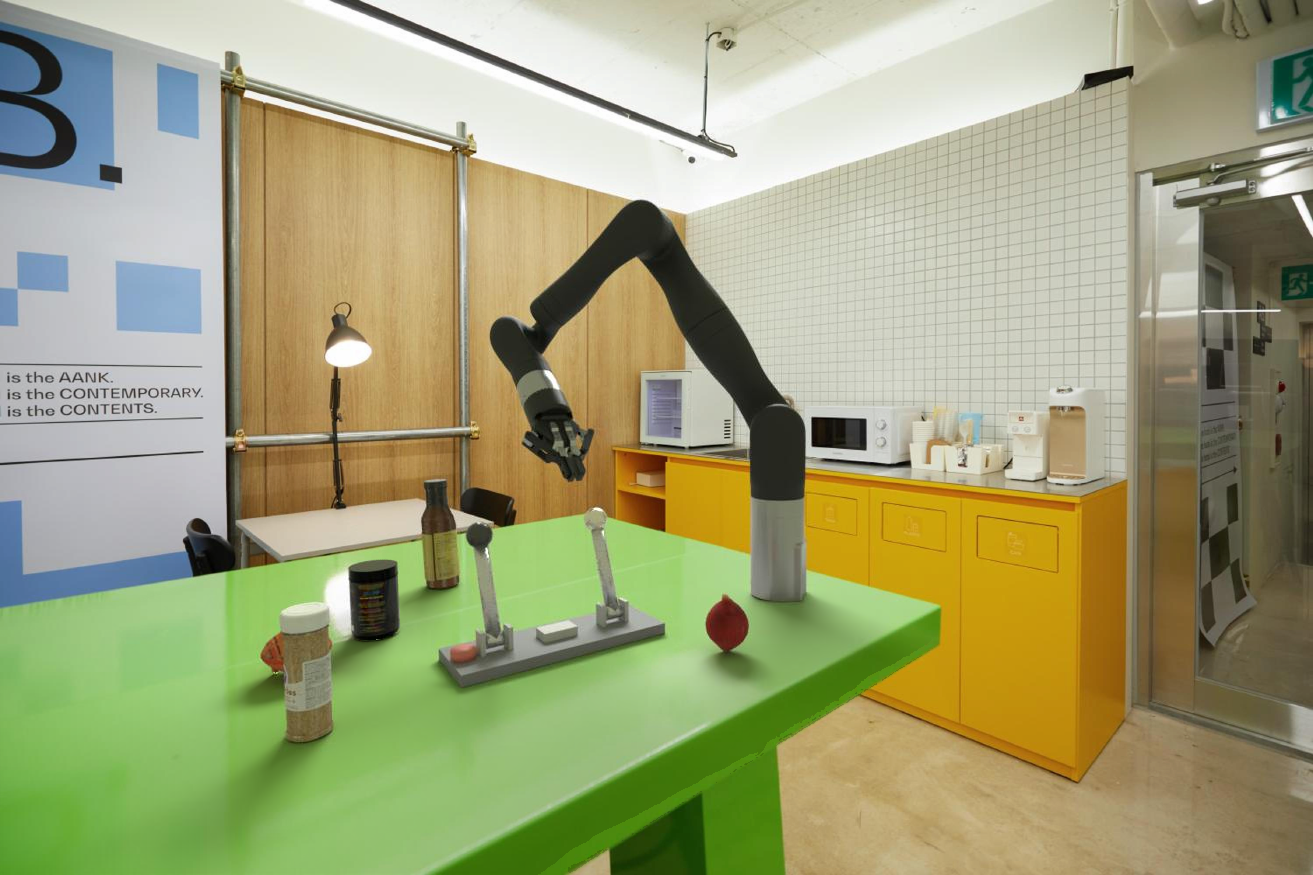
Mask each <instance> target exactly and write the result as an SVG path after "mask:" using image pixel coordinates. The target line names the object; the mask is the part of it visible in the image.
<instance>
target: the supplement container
mask: <svg viewBox="0 0 1313 875" xmlns="http://www.w3.org/2000/svg"><path fill="white" fill-rule="evenodd" d="M398 564H399V563H398V561H397V560H392V559H371V560H365V561H360V562H357V563H353V564H351V565H349V566H348V567H347V572H348V573H347V574H348V578H347V579H348V588H349V590H348V591H349V592H348V593H349V609H350V611H349V612H350V630H351V636H352V638H354V639H355V640H356V639H358V640H357V641H360V640H376V639H381V640H384V639H383V638H385V639H387V638H386V637H388V638H390V637H392V636H394V635H395V633H396V632H397V633H398V631H399V630H400V627H401V623H400V598H399V596H400V595H399V568H398V567H399V565H398ZM393 634H394V635H393ZM389 636H390V637H389ZM376 641H377V640H376Z"/></svg>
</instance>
